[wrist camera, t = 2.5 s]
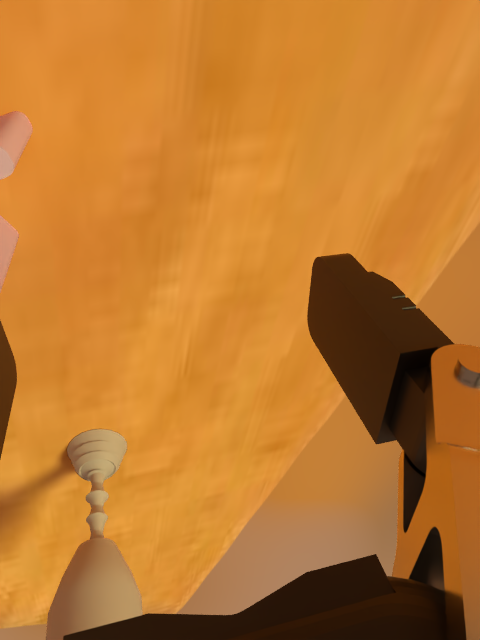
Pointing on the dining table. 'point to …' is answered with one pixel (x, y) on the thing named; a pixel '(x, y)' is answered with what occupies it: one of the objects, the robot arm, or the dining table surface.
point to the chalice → (94, 549)
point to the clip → (3, 154)
